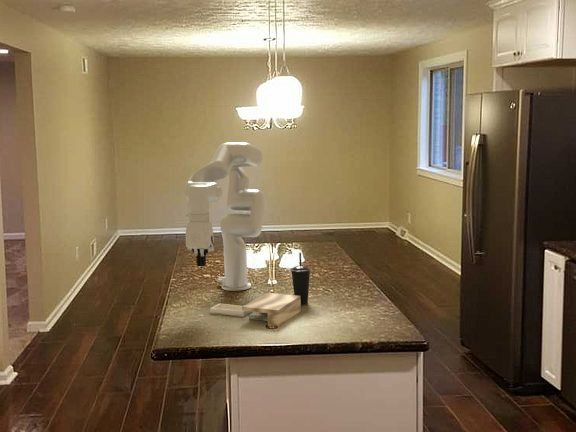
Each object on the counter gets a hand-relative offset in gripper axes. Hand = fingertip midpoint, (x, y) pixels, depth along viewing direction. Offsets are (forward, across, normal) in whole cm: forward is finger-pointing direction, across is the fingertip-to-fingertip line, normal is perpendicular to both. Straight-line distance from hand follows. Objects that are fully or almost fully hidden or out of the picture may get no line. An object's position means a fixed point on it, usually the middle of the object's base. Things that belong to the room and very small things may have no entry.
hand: (201, 265), depth 271 cm
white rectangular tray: (+17, +12, 0) cm, 21 cm away
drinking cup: (+17, +32, +20) cm, 42 cm away
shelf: (+17, +29, 0) cm, 34 cm away
